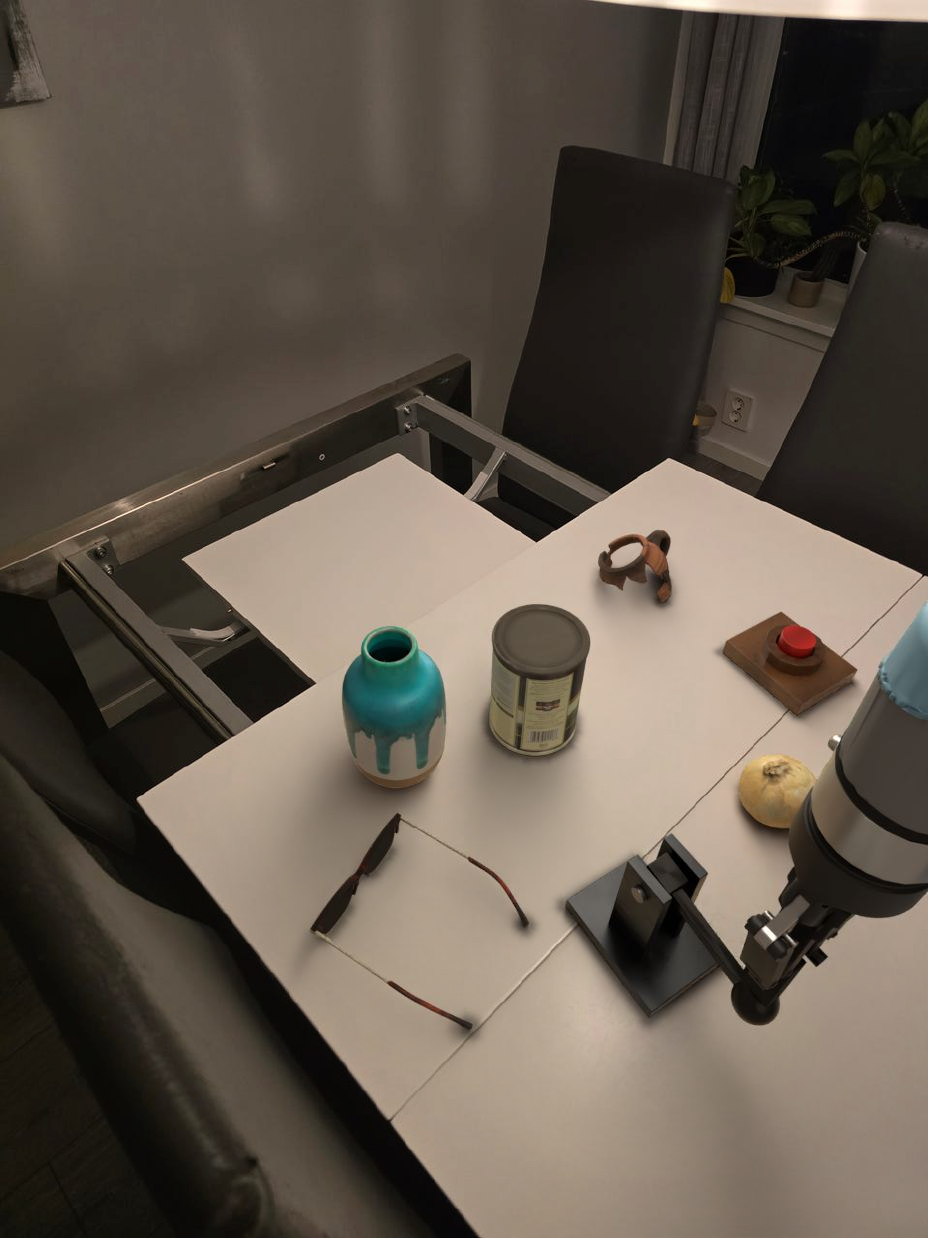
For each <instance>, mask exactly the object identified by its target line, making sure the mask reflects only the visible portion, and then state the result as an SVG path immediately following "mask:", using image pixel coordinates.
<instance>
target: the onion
mask: <svg viewBox="0 0 928 1238" xmlns="http://www.w3.org/2000/svg"><path fill="white" fill-rule="evenodd" d="M817 779H818V778H816V776H815V774H814V773H813V772H812V770H811V769H810V768H809V767H808V766H807V765H806V764H805V763H803V762H801V761H800V760H799V759H796V758H794V757H791V756H788V755H786V754H766V755H761V756H759V757H757V758H755V759H754V760H752V761H751V762H750V763H748V764H747V765H746V766H745V767H744V768H743V769H742V770H741V774H740V777H739V781H738V794H739V799H740V801H741V804H742V807H744V809H745V810H746V811H747V812H748V813H749V814H750V815H751V817H752V818H753V819H754V820H756V821H757V822H759V823H761V824H762V825H765V826H767V827H770V828H778V829H790V825H791V822H792V820H793V818H794V816H795V815H796V813H797V811H798V809H799V808H800V806H801V804H802V803H803V801H804V799H805V797H806V796H807V794H808V792H809V791H810V789H811V788H812V787H813V786H814V785H815V783H816V781H817Z"/></svg>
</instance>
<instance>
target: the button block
mask: <svg viewBox="0 0 928 1238" xmlns="http://www.w3.org/2000/svg"><path fill="white" fill-rule="evenodd" d="M792 625H796V626H801V625H800V624H799V623H797V622H796V621H794V620H793V619H792V618H791V617H789V616H788V615H787V614H785V613H784V612H783V611H779V612H777V613H775V614H773V615H771V616H770V617H768V618H766V619H764V620H762V621H759V623H757V624H755V625H753V626H751V627H749V628H747V629H746V630H744V631H742V632H739V633H738V634H736V635H734V636H732V637H731V638H728V639H726V641H725V644H724V647H723V649H722V653H723V654H724V655H725V656H726V657H727V658H729V659H730V660H731V661H732V662H733V663H735V665H737V666H738V667H739V668H740V669H742V670H743V671H744V672H745V673H746V674H748V675H749V676H750V677H751V678H752V679H753V680H754V681H756V682H757V683H758V684H759V685H760V686H762V687H763V689H765V690H766V691H768V692H769V693H770V695H772V696H774V698H776V699H777V700H778V701H779V702H780V703H782V704H783V705H784V706H785V707H786V708H787V709H789V710H790V711H791V712H792V713H793V714H795V716H797V715H799V714H801V713H803V712H804V711H805V710H808V709H809V708H810V707H812V706H813V705H815V704H818V703H819V702H821V700H824V699H825V698H826V697H828V696H830V695H831V694H833V693H835V692H836V691H838V690H840V689H841V688H843V687H845V686H846V685H848V684H850V683H852V681H853V679H854V678H855V675H856V674H857V672H858V670H859V669H858V668H856V667H855V666H854V665H852V664H851V663H850V662H848V661H847V660H846V659H845V658H843V657H842V656H841V655H839V654H838V653H837V652H835V651H834V650H833V649H832V648H830V647H829V646H828V645H826V644H825V643H824V642H823V641H822V639H821V638H820V636H818V635H817V634H816V633H814V632H812V633H813V634H814V636H815V638H816V644H815V646H814V648H813V651H812V653H811V654H810V655H809V656H808V657H806V658H802V659H797V658H793V657H791V656H788V655H786V654H785V653H783V652H782V651H781V650H780V649H779V647H778V640H779V638H780V635H781V633H782V630H783V629H784V628H786V627H788V626H792Z"/></svg>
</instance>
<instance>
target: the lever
mask: <svg viewBox="0 0 928 1238" xmlns="http://www.w3.org/2000/svg"><path fill="white" fill-rule="evenodd" d="M656 858H657V857H656ZM656 858H655V859H654V860H653V861H651V862H650V863H648V864H647V866H646V868H647V869H648V870H649V871H650V872H651V873H652V875H653V876H654V877H655V878H656V879H657V880H658V882H659V883H660V884H661V885H662V886H663V887H664V889H665V890H666V891H667V892H668V893H669V894H670V896H671V897H672V900H671V902H672V903H673V904H674V906H675V907H676V908H677V910H678V911H679V912H680V914H681V915H682V917H683V918H684V919H685V921H686V922H687V923H688V925H689V926H690V927H691V929H692V930H693V931H694V933H695V934H696V935H697V937H698V938H699V939H700V941H701V942H702V944H703V945H704V946H705V948H706V949H707V950H708V952H709V953H710V954H711V956H712V957H713V958H714V960H715V961H716V962H717V964H718V966H719V968H720V969H721V970H722V972H723V974H724V975H725V977H727V979H728V980H729V982H730V983H731V984H732V987H731V991H730V1001H731V1002H730V1003H731V1006H732V1008H733V1010H734V1012H735V1014H736V1015H737V1016H738V1017H739V1019H741V1020H742V1021H744V1022H745V1023H747V1024H749V1025H752V1026H757V1027H761V1026H762V1027H763V1026H766V1025H769V1024H770V1023H772V1022H773V1021H775V1020H776V1018H777V1017H778V1015H779V1012H780V1010H781V1000H780V997H778V998H777V999H776V1000H775V1001H773V1002H772V1003H771V1004H770V1005H769V1006H767V1007H765V1006H764V1005H763V1004H762V1003H761V1001H760V1000H759V999H758V998H757V997H756V995H755V994H754V993H753V992H752V991H751V990H750V988H749V987H748V986H747V985H746V984H745V983H744V981H743V980H742V979H741V978H740V977H739V975H740V974H741V972H742V971H743V969H744V968H743V966H741V964H740V963H739V962H738V960H737V959H736V957H735V956H734V955H733V954H732V952H731V951H730V949H729V948H728V947H727V945H726V944H725V943H724V942H723V940H722V939H721V937H720V936H719V935H718V934H717V932H716V931H715V930H714V928H713V927H712V926H711V925H710V923H709V922H708V920H707V919H706V918H705V916H704V915H703V914H702V912H701V911H700V909H698V907H697V905H696V904H695V903H693V902H692V901H691V899H690V898H689V897H688V895H687V894H686V893H685V891H684V890H683V889H682V887H683V886H684V885H685V884H686V883H687V882H688V879H687V878H686V877H685V875H684V874H683V873H682V871H681V870H680V869H679V867H678V866H677V865H676V863H675V862H674V861H673V860H672V858H671V857H670V856H669V854H668V853H665V854H663V855H662V856H660V857H659V858H657V859H656Z"/></svg>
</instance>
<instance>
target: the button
mask: <svg viewBox="0 0 928 1238" xmlns="http://www.w3.org/2000/svg"><path fill="white" fill-rule="evenodd" d="M813 633H814V632H813V631H811V630H810V629H808V628H806V627H804V626H801V625H800V626H796V625H792V626H788V627H786V628H784V629H783V630H782V633H781V635H780V638H779V640H778V647H779V649H780V650H781V651H782V652H783V653H785V654H786V655H788V656H791V657H793V658H797V659H802V658H806V657H808V656H809V655H810V654H811V653H812V651H813V648H814V646H815V644H816V638H815V636H814V634H815V633H814V634H813Z"/></svg>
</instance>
